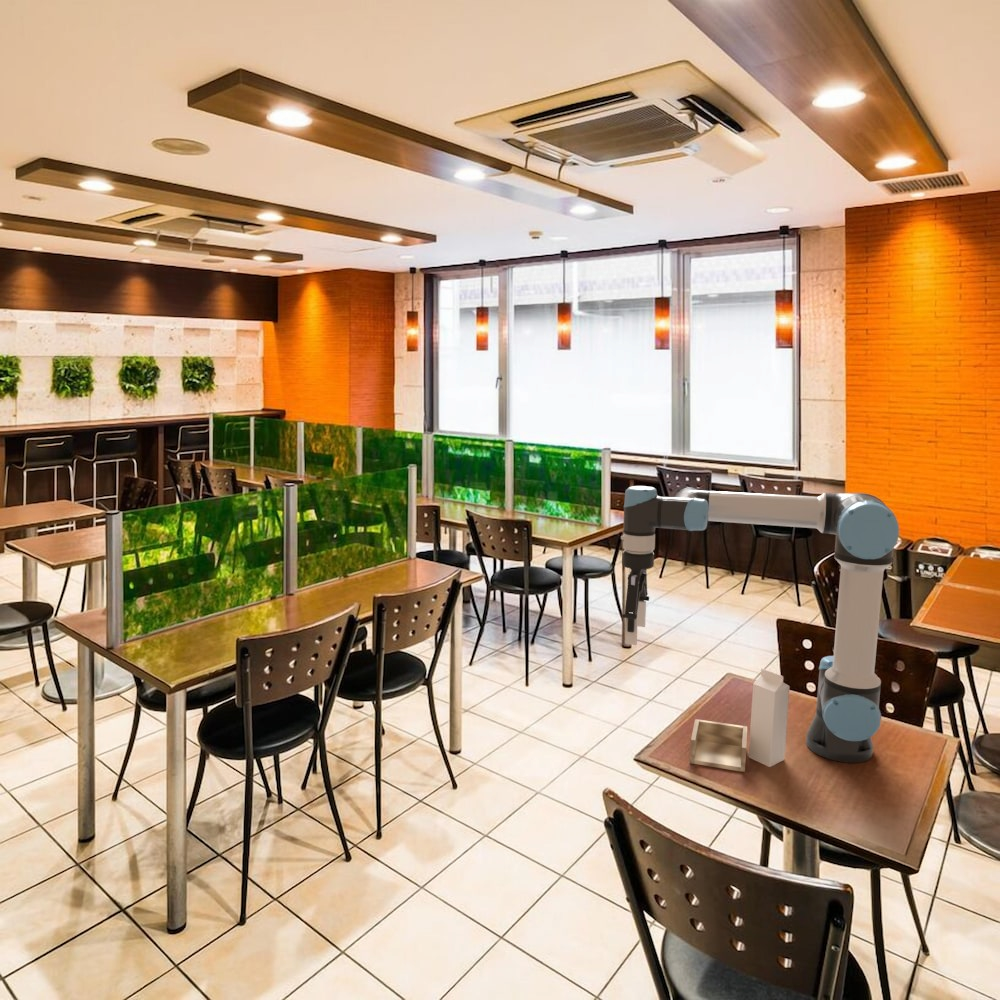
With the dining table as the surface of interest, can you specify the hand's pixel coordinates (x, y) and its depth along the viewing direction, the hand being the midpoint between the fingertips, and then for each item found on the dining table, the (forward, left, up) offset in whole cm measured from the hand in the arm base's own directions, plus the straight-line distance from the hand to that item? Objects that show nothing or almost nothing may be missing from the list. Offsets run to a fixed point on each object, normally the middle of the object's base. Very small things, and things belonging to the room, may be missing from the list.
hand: (635, 634), depth 190 cm
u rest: (-21, +1, -28) cm, 35 cm away
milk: (-32, -2, -28) cm, 43 cm away
